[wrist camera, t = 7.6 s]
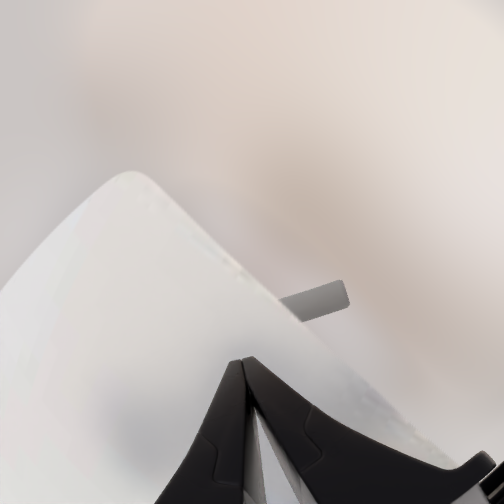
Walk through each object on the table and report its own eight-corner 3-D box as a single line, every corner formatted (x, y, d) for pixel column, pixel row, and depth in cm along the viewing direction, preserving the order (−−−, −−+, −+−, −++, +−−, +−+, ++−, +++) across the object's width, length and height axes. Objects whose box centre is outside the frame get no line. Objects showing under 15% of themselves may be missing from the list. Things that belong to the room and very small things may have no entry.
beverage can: (352, 312, 43) (281, 334, 46) (346, 294, 47) (281, 315, 50) (346, 290, 41) (271, 314, 44) (339, 272, 45) (271, 295, 48)
